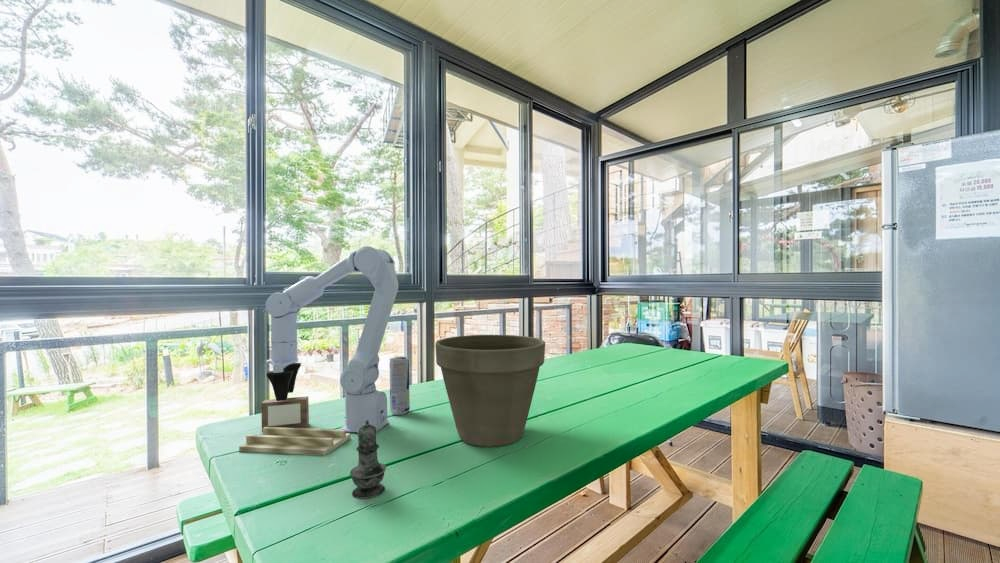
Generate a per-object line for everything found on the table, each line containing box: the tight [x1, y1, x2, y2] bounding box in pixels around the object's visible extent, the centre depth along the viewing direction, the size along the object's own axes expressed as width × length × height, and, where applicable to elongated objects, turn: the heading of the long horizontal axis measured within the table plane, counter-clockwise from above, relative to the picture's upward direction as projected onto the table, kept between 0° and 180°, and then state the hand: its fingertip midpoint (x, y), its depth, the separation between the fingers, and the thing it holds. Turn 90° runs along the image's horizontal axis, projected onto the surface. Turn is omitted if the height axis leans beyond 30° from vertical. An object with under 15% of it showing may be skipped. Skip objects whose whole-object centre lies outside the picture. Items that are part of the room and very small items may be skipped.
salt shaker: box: [349, 420, 387, 500], centre depth 71 cm, size 6×6×12 cm
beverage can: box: [389, 356, 411, 416], centre depth 115 cm, size 5×5×15 cm
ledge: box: [238, 427, 351, 456], centre depth 93 cm, size 20×10×2 cm, turn 80°
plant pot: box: [435, 334, 546, 448], centre depth 96 cm, size 25×25×22 cm
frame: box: [260, 395, 310, 433], centre depth 105 cm, size 10×3×7 cm, turn 105°
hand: (285, 396), depth 105 cm, fingers open, 7 cm apart
